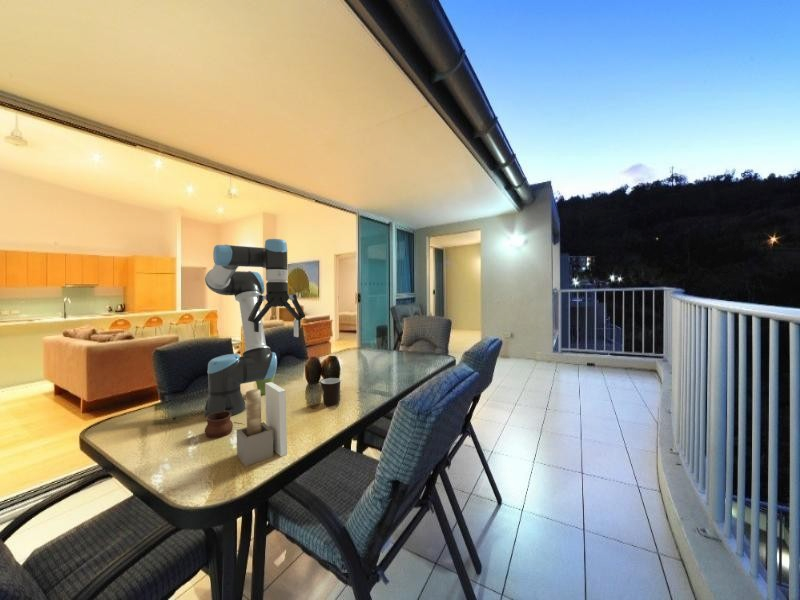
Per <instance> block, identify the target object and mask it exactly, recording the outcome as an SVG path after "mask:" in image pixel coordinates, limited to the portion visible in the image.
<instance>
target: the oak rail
mask: <svg viewBox="0 0 800 600" xmlns="http://www.w3.org/2000/svg"><path fill="white" fill-rule="evenodd" d="M261 399H262V395H261V391H260V390H259V389H257V388H256V389H255V388H254V389H250V390H247V391H246V392H245V407H246V408H245V409H246V427H247V437H248V436H251V435H255V434H258V433H261V432H262V428H261V423H262V400H261Z"/></svg>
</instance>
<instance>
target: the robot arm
mask: <svg viewBox="0 0 800 600" xmlns="http://www.w3.org/2000/svg"><path fill="white" fill-rule="evenodd" d="M288 251H289V250H288V244H287V241H286V240H284V239H281V238H268V239H266V240H265V241H264V247H257V246H245V245H244V246H243V245H231V244H216V245H215V246H214V247H213V251H212V252H213V253H212V257H213V263H214V266H213V267H212V269H210V270H208V271H207V273H206V274H205V277H204V281H205V285H206V286H207V288H208V289H209V290H210V291H212V292H213V293H216V294H218V295H221V296H234V300H235V301H237V302H238V303H239V310H240V317H241V325H242V331H243V338H244V346H245V350H244V351H243V352H242V355H241V356H240V354H239V353H228V354H223V355H220V356H216V357H214V358H212V359H211V360H209V361H208V364H207V378H208V379H207V380H208V383H207V384H208V397H207V400H206V403H205V407H204V410H203V412H204V413H203V414H204V417H205V418H206V417H207V416H208V415H210V414H212V413H217V412H219V413H220V412H222V411H228V412H231V417H232V416H235V415H238V414H240V413H242V412H244V411H245V409H246V400H245V399H244V398H245V397H244V396H243V393H242V391H241V384H248V383H249V384H250V383H253V382H256V381H260V380H265V379H269V378H272V377H273V376H274V375H276V373H277V372H276V371H277V367H278V366H277V365H278V358H277V354H276V352H274V351H272V350H271V347H270V346H268V345H267V343H266V335H265V330H264V323H263V318H264V316H265V315H266V314H267V313H268V311H269V310H270V309H271V308H278V307H284V308H285V309H286V310H287V311H288V312H289V314H291V316H292V317H293V318H294V319H293V337H294V338H295V337H296V338H299V329H301V323H302V322H301V321H302V319H304V318H306V315H305V313H304V311H303V309H302V306H301V305H300V303H299V301H298V296H297V294H293V293H292V294H290V295H289V283H288V282H287V281H288V278H289V274H288V273H289V272H288V271H289V270H288ZM239 267H249V268H263V269H265V280H266V281H267V282H266V283H265V282H264V278H263V276H262V274H261V273H259V272H258V271H251V270H248V271H245V270H243V271H238V270H237V269H238V268H239ZM265 291H266V294H265V293H264V292H265ZM264 294H265V295H264ZM265 300H266V302H267V303H265V305H264V307H263V308H262V309H261V306H262V303H263V302H264V301H265ZM289 300H290V301H291V303H292V304H293V306H294V308H295V309H296V310H295V309H294V308H293V307H292V306H291V304H290V303H289ZM274 377H275V376H274Z"/></svg>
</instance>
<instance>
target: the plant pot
mask: <svg viewBox="0 0 800 600" xmlns="http://www.w3.org/2000/svg"><path fill="white" fill-rule="evenodd" d="M275 375H276V374H275ZM275 375H274V376H273V377H272V378H269V379H265V380H260V381H255V383H256V387H257V388H256V389H259V390H260V391H261V396H266V395H265V383H269V382H272V383H274V380H275Z"/></svg>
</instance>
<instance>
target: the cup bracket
mask: <svg viewBox="0 0 800 600" xmlns="http://www.w3.org/2000/svg"><path fill="white" fill-rule="evenodd" d="M286 393H287V392H286V389H284V388H282V387H281V386H280V385H278V384H276V383H274V382H273V383H272V382H269V383H265V395H264V396H265V422H261V428H262V432H261V433H258V434H255V435H251V436H248V437H247V426H246V427H243V428H239V429H236V454H237V455H236V456H237V458H239V460H240V461H241V463H242V464H243V466H244V467H247V466H250V465H252V464H253V465H254V464H256V463H259V462H262V461H264V460H267V459H270V458H271V457H274V451H275V452H276V454H277V455H278V456H279V457H281V458H282V457H284V456H286V455H288V437H287V436H288V435H287V434H288V432H287V431H288V430H287V429H288V427H287V425H288V424H287V396H286V395H287V394H286Z"/></svg>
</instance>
